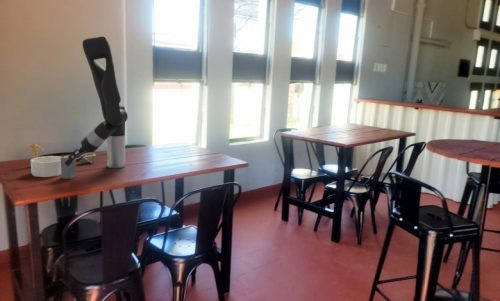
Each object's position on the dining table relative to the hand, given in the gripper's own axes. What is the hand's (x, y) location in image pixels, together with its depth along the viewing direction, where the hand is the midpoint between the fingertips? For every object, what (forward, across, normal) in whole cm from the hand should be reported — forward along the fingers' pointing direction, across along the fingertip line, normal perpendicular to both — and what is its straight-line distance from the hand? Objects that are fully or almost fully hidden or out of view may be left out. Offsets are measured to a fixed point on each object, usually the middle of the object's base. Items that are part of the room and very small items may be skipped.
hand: (71, 162), depth 182 cm
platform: (+11, -28, 0) cm, 30 cm away
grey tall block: (+6, 0, +4) cm, 8 cm away
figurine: (+26, -15, -15) cm, 33 cm away
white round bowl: (+16, -4, -5) cm, 17 cm away
